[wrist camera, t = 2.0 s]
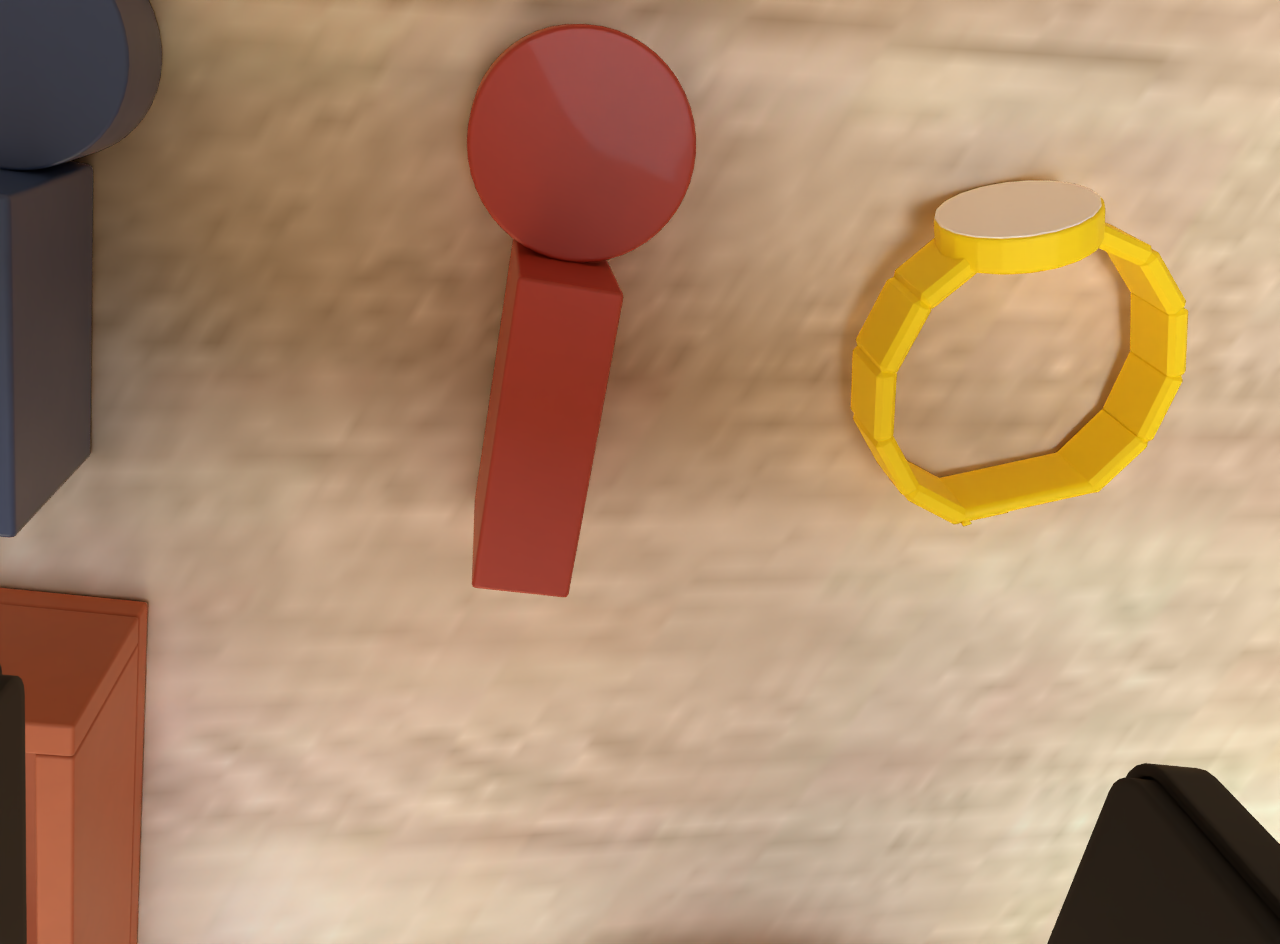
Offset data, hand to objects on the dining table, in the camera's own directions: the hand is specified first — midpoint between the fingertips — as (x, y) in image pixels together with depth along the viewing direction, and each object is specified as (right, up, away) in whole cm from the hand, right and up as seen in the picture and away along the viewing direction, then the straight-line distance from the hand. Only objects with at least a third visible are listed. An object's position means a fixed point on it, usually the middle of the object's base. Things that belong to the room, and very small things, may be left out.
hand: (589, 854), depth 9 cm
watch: (+8, +3, +12) cm, 15 cm away
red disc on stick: (-1, +7, +10) cm, 12 cm away
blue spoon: (-9, +8, +9) cm, 15 cm away
